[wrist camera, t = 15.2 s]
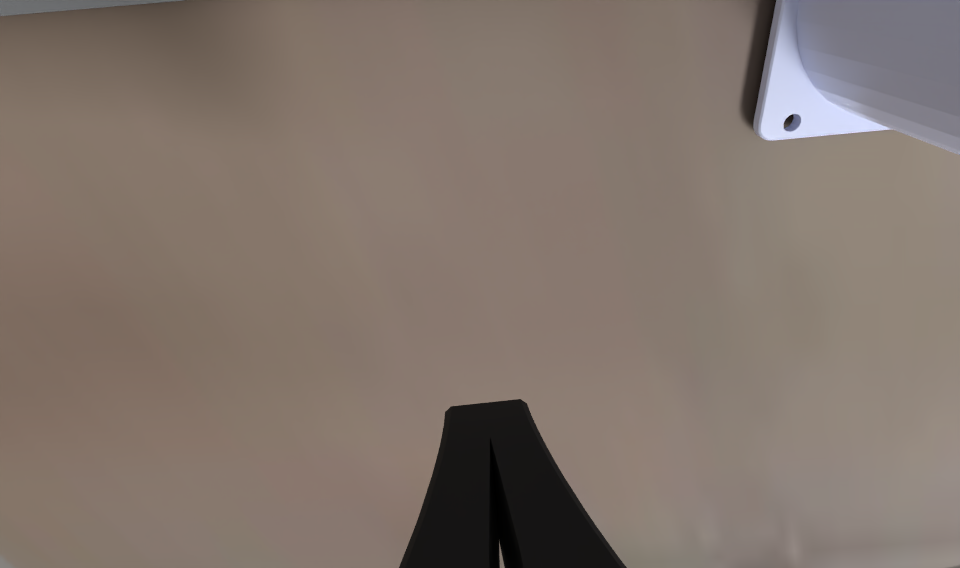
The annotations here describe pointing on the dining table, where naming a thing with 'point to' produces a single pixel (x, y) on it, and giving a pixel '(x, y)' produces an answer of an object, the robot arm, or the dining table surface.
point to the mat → (62, 5)
